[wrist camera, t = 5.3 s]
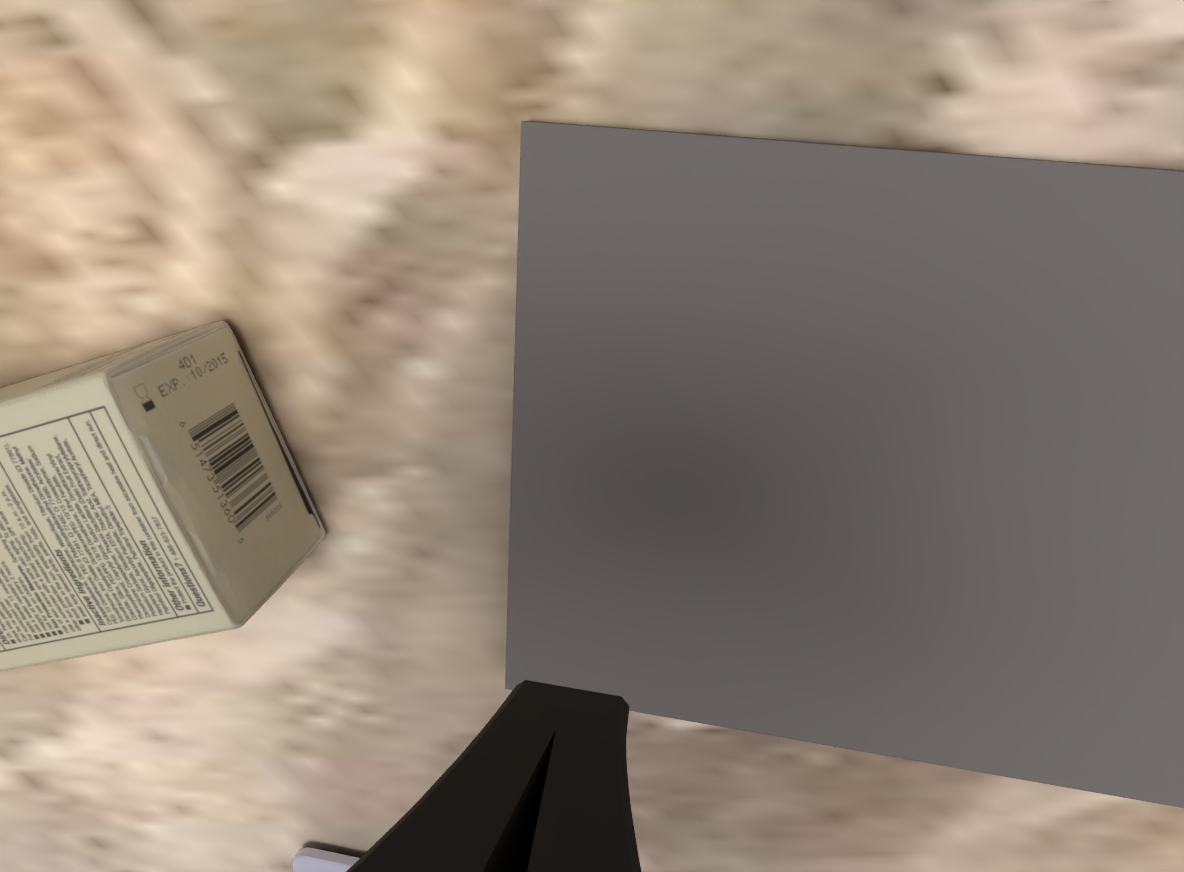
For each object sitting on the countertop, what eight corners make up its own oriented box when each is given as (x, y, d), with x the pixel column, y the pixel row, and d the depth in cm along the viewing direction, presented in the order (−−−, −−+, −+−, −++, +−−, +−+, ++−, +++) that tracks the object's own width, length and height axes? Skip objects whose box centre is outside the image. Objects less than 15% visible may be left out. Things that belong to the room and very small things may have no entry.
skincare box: (235, 313, 19) (-131, 413, 22) (102, 369, 15) (-319, 481, 18) (336, 545, 21) (-11, 607, 24) (243, 647, 17) (-156, 704, 21)
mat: (1199, 793, 19) (1212, 813, 19) (511, 673, 22) (505, 688, 21) (1489, 194, 14) (1519, 198, 13) (528, 120, 16) (521, 121, 16)
